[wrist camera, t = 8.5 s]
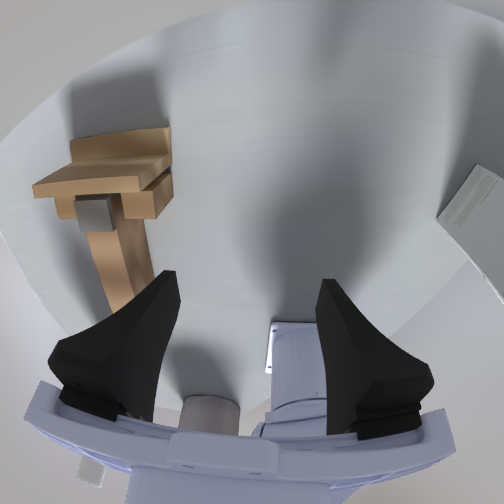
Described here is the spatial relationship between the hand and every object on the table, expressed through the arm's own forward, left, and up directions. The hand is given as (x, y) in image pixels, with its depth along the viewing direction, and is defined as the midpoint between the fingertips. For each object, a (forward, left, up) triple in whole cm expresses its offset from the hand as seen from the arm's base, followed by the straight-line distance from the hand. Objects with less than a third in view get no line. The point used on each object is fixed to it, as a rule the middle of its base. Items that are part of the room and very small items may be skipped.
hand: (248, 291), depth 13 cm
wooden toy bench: (+4, +11, -9) cm, 15 cm away
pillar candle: (-35, +6, -10) cm, 37 cm away
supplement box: (+2, -21, -10) cm, 23 cm away
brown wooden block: (-4, +11, -9) cm, 15 cm away
